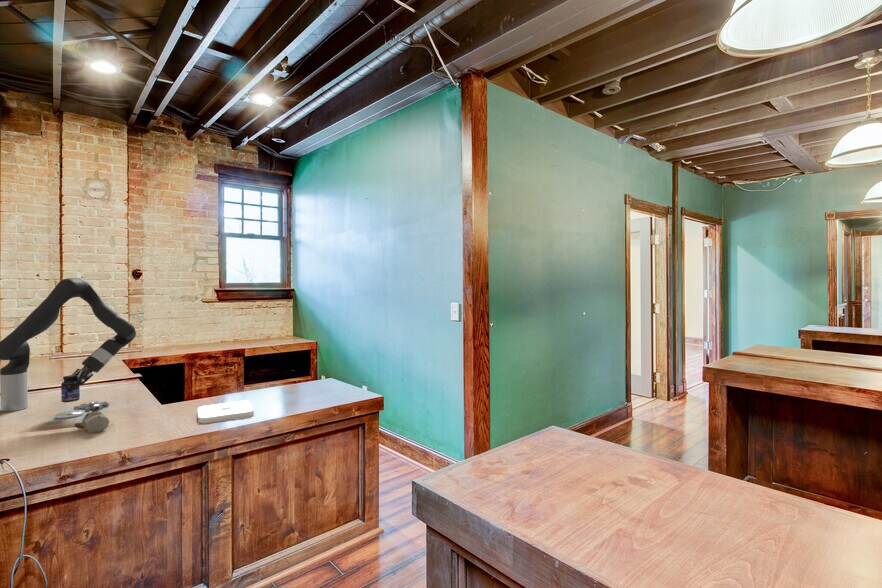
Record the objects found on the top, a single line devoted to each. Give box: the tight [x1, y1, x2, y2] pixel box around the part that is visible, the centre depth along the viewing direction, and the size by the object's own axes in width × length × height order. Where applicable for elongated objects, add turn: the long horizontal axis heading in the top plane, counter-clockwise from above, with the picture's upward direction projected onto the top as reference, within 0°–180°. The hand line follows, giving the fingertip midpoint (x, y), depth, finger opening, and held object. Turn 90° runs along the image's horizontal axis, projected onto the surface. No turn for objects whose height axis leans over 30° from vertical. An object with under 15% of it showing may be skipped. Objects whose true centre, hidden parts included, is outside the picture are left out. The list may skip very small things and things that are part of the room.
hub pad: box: [54, 410, 85, 419], centre depth 189 cm, size 10×10×1 cm
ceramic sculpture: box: [74, 409, 110, 434], centre depth 174 cm, size 11×9×15 cm
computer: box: [197, 400, 255, 424], centre depth 196 cm, size 22×22×3 cm
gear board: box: [45, 403, 110, 424], centre depth 193 cm, size 24×17×2 cm
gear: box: [73, 401, 110, 412], centre depth 201 cm, size 13×13×3 cm
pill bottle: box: [60, 374, 81, 403], centre depth 189 cm, size 6×6×11 cm
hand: (65, 390), depth 188 cm, fingers closed on pill bottle, 6 cm apart
